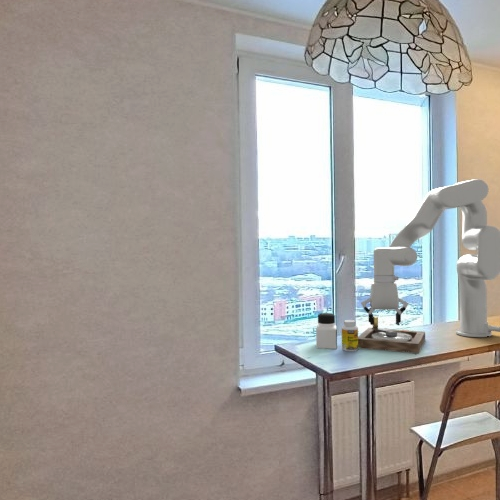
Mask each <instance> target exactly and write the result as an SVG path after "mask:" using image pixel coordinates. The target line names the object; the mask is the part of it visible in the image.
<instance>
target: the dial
mask: <svg viewBox="0 0 500 500" xmlns="http://www.w3.org/2000/svg"><path fill="white" fill-rule="evenodd" d="M371 328H372V330H376V331H380V332H378V333H374V334H372V338H373V339H385V340H397V341H410V342H412V336H411V335H408V334H405V333H398V332H396V331H389V330H385V329H386V328H380V327H379V317H378V316H373V325H372V327H371Z"/></svg>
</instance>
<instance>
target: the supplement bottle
mask: <svg viewBox="0 0 500 500" xmlns="http://www.w3.org/2000/svg"><path fill="white" fill-rule="evenodd" d="M356 325H357V324H356V320H354V319H353V320H352V319H346V320H343V325H342V326H341V349H342V350H343V352H344V351H345V352H351V353H352V352H357V351H358V350H359V348H358V336H359V327H358V326H356Z"/></svg>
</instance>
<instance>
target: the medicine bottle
mask: <svg viewBox="0 0 500 500" xmlns="http://www.w3.org/2000/svg"><path fill="white" fill-rule="evenodd" d="M335 318H336V315H335V314H334V313H332V312H321V313H319V314H318V315H317V325H316V328H315V332H316V333H315V334H316V335H315V336H316V337H315V338H316V339H315V341H316V342H315V343H316V345H315V347H316V349H321V348H327V349H329V350H336V349H338V335H337V334H338V333H337V329H338V326H337V325H336V319H335Z"/></svg>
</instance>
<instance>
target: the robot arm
mask: <svg viewBox="0 0 500 500" xmlns="http://www.w3.org/2000/svg"><path fill="white" fill-rule="evenodd" d="M488 194H489V186H488V184H487V182H486V181H484V180H482V179H479V178H475V179H471V180H465V181H460V182H457V183H455V184H453V185H447V186H443V187H438V188H434V189H432V190H430V191H429V192H428V193H427V194H426V195H425V197H424V198H423V201H422V202H421V204H420V205H419V207H418V209H417V210H416V212H415V213H414V215H413V217H412V218H411V220H410V221H408V223H407V224H405V226H404V227H403V228H402V229H401V230H400V231H399V232H398V233H397V234H396V235H395V237H394V238H393V239H392V241H391V243H390V245H389V246H388V247H385V246H384V247H383V246H382V247H381V246H380V247H376V248H374V250H373V282H372V283H371V284H370V285H371V286H370V294H369V295H370V297H369V298H367V299H365V300H363V301H361V302H360V304H361V306H362V308H363V310H364V311H365V312H366V313H367V315H368V323H369V324H370V326H373V317H374V314H373V313H374V312H375V310H380V311H381V310H382V311H383V310H386V311H387V310H388V311H389V310H393V311H395V312H396V313H395V324H396V326H400V324H401V323H402V321H401V320H402V316H401V315H402V314H403V313H404V312H405V311H406V309H407V308H408V306H409V302H407V301H405V300H403V299H401V298H399V291H398V286H397V283H396V281H399V276H396V274H395V266H397V267H398V266H400V267H410V266H413V265H414V264H415V263H416V262H417V260H418V253H417V251H416V250H415V249H414V248H413V247H412V246H413V244H414V243H416V242H417V241H418V240H419V239H421V238H423V237H425V236H426V235H428V234H430V233H431V232H432V231H433V229H434V228H435V226H436V224H437V223H438V222H439V219H441V216H442V214H443V213H444V211H445V210H452V209H457V208H459V209H460V211H461V214H462V231H461V232H462V233H461V244H462V246H463V248H465V249H466V250H468V251H469V250H470V251H477V253H467V254H464V255H462V256H461V257H459V259H458V260H457V262H456V273H457V277H458V286H459V287H458V288H459V328H457V329H456V330H455V334H456V335H458V336H463V337H469V338H488V337H487V336H489V337H492V335H493V333H492V332H495V333H496V332H500V326H497V325H491V324H489V323H488V303H487V302H488V297H487V292H488V289H487V285H486V282H485V281H491V280H495V279H496V278H497V277H498V276H499V275H500V229H498V228H497V227H496V226H493V225H488V211H487V207H486V205H485V204H484V202H483V200H485V199H486V197H488ZM399 303H400V304H402V306H401V307H400V308H399ZM367 304H370V306H369V308H368V307H367Z"/></svg>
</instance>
